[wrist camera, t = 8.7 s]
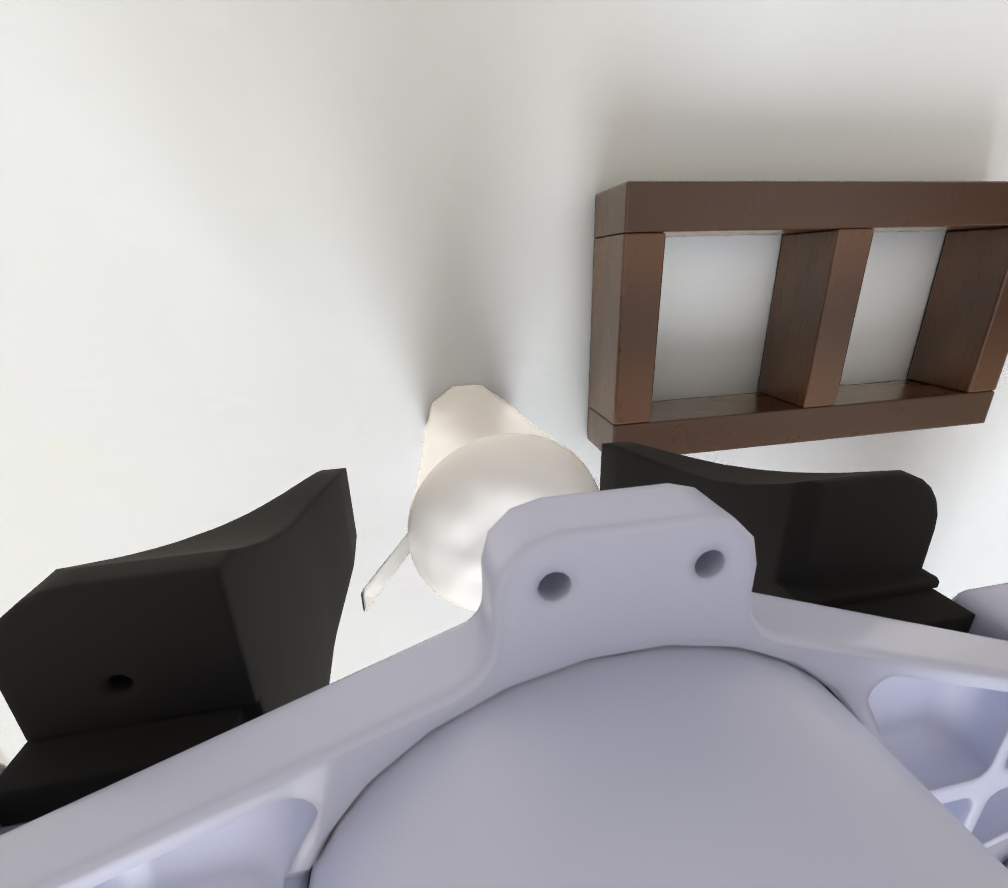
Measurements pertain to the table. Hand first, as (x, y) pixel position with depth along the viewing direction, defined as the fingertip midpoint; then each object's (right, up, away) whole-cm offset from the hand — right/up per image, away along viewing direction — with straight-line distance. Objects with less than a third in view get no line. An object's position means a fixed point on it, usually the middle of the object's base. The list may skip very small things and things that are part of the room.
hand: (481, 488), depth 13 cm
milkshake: (-1, +2, +5) cm, 6 cm away
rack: (+12, +6, +6) cm, 15 cm away
